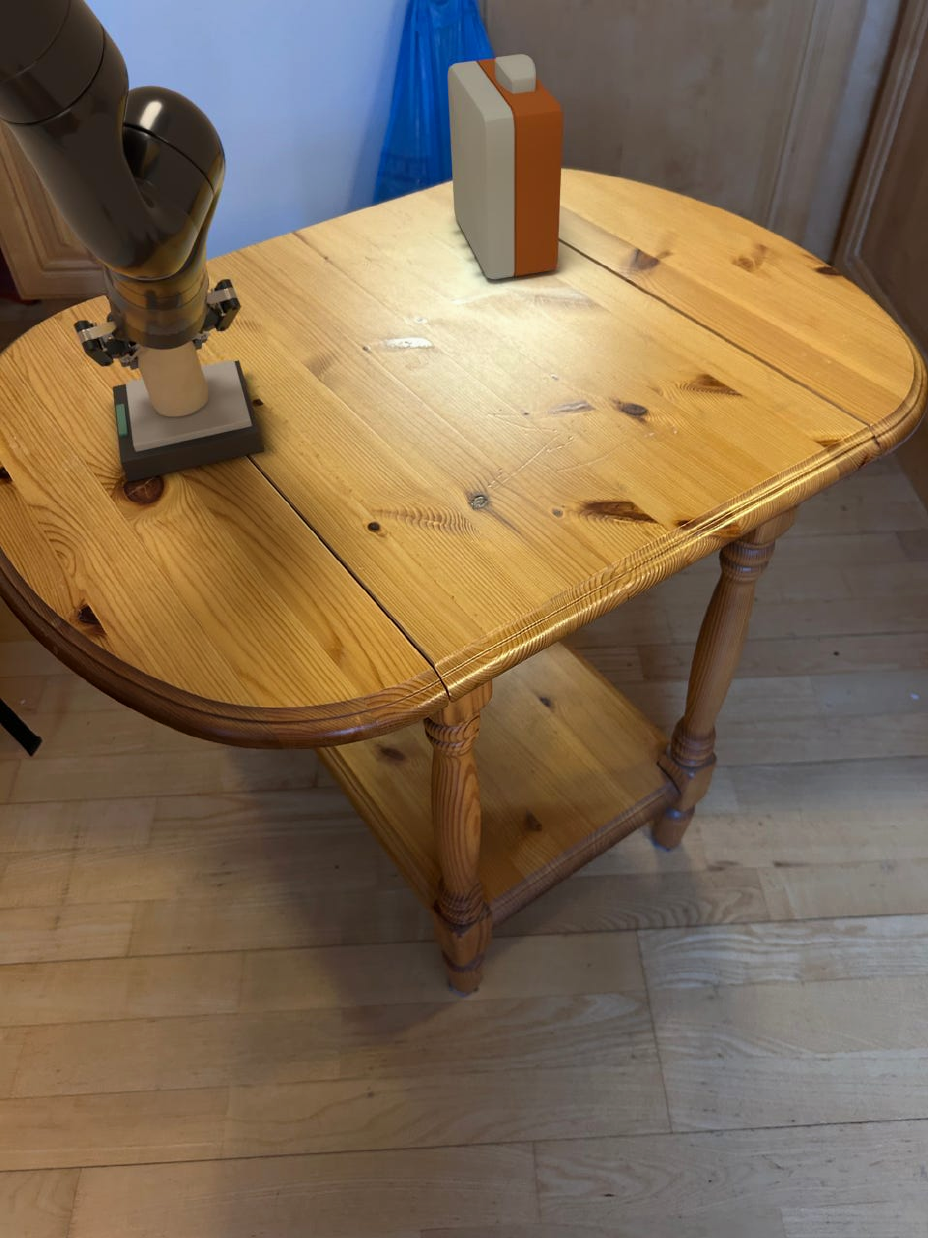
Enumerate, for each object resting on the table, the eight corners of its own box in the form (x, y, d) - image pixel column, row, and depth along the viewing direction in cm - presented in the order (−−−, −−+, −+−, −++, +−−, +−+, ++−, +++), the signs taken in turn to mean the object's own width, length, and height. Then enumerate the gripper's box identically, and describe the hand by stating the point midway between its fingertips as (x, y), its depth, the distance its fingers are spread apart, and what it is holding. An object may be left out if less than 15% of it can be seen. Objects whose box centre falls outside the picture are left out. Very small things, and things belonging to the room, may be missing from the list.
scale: (128, 482, 85) (117, 455, 83) (120, 405, 94) (109, 379, 91) (264, 451, 88) (257, 424, 85) (244, 379, 96) (237, 353, 93)
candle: (141, 411, 87) (106, 316, 80) (174, 380, 90) (142, 286, 83) (189, 422, 86) (157, 326, 78) (220, 390, 89) (193, 295, 81)
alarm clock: (559, 274, 108) (566, 84, 92) (488, 285, 107) (483, 95, 91) (517, 208, 120) (518, 30, 104) (453, 217, 119) (444, 39, 103)
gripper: (227, 214, 71) (219, 290, 87) (42, 263, 67) (70, 333, 83) (263, 305, 72) (249, 364, 88) (83, 359, 68) (103, 410, 84)
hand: (162, 349), depth 86 cm, fingers closed on candle, 5 cm apart
